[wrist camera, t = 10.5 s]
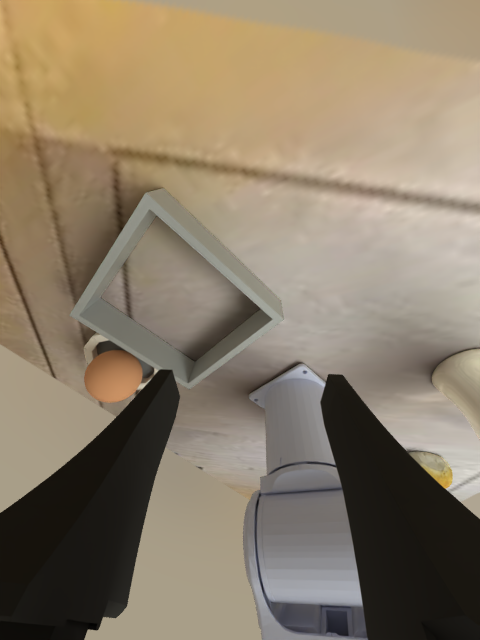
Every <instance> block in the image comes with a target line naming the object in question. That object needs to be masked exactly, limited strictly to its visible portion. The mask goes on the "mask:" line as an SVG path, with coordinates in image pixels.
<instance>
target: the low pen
mask: <svg viewBox="0 0 480 640" xmlns="http://www.w3.org/2000/svg"><path fill="white" fill-rule="evenodd" d="M156 216H158V217H159V218H160V219H161V220H162V221H164V222H165V223H166V224H167V225H168V226H169V227H170V228H171V229H173V230H174V231H175V232H176V233H177V234H178V235H179V236H180V237H181V238H183V239H184V240H185V241H186V242H187V243H188V244H189V245H190V246H192V247H193V248H194V249H195V250H196V251H197V252H198V253H199V254H200V255H202V256H203V257H204V258H205V259H206V260H207V261H208V262H209V263H210V264H212V265H213V266H214V267H215V268H216V269H217V270H218V271H219V272H221V273H222V274H223V275H224V276H225V277H226V278H227V279H228V280H229V281H231V282H232V283H233V284H234V285H235V286H236V287H237V288H238V289H240V290H241V291H242V292H243V293H244V294H245V295H246V296H247V297H248V298H250V299H251V300H252V301H253V302H254V303H255V304H256V305H257V306H258V307H260V308H261V309H260V310H258V311H257V312H256V313H255V314H253V315H252V316H251V317H250V318H249V319H247V320H246V321H245V322H244V323H242V324H241V325H240V326H239V327H237V328H236V329H235V330H234V331H232V332H231V333H230V334H229V335H228V336H226V337H225V338H224V339H223V340H221V341H220V342H219V343H218V344H216V345H215V346H214V347H213V348H212V349H210V350H209V351H208V352H207V353H205V354H204V355H203V356H202V357H200V358H199V359H198V360H197V361H195V362H194V361H193V360H191V359H190V358H188V357H187V356H185V355H184V354H183V353H181V352H180V351H178V350H177V349H175V348H174V347H172V346H171V345H169V344H168V343H166V342H165V341H163V340H162V339H160V338H159V337H157V336H156V335H155V334H153V333H152V332H150V331H149V330H147V329H146V328H144V327H143V326H141V325H140V324H138V323H137V322H135V321H134V320H132V319H131V318H129V317H128V316H127V315H125V314H124V313H122V312H121V311H119V310H118V309H116V308H115V307H113V306H112V305H110V304H109V303H107V302H106V301H104V300H103V299H102V298H100V297H101V296H102V294H103V293H104V292H105V290H106V289H107V287H108V286H109V284H110V283H111V281H112V280H113V278H114V277H115V276H116V274H117V273H118V271H119V270H120V268H121V267H122V265H123V264H124V262H125V261H126V259H127V258H128V257H129V255H130V254H131V252H132V251H133V249H134V248H135V246H136V245H137V243H138V242H139V241H140V239H141V238H142V236H143V235H144V233H145V232H146V230H147V229H148V227H149V226H150V224H151V223H152V222H153V220H154V219H155V217H156ZM70 316H71V317H73V318H74V319H76V320H78V321H79V322H81V323H83V324H84V325H86V326H87V327H89V328H91V329H92V330H94V331H95V332H97V333H99V334H100V335H102V336H104V337H105V338H107V339H108V340H110V341H112V342H113V343H115V344H116V345H118V346H120V347H121V348H123V349H125V350H126V351H128V352H129V353H131V354H133V355H134V356H136V357H137V358H139V359H141V360H142V361H144V362H145V363H147V364H149V365H150V366H152V367H154V368H155V369H157V370H160V369H168V370H173V374H174V377H175V381H176V382H178V383H179V384H181V385H183V386H184V387H186V388H187V389H191V388H192V387H193V386H195V385H196V384H197V383H199V382H200V381H201V380H203V379H204V378H206V377H207V376H208V375H210V374H211V373H212V372H214V371H215V370H216V369H218V368H219V367H220V366H222V365H223V364H225V363H226V362H227V361H229V360H230V359H231V358H233V357H234V356H235V355H237V354H238V353H240V352H241V351H242V350H244V349H245V348H246V347H248V346H249V345H250V344H252V343H253V342H254V341H256V340H257V339H259V338H260V337H261V336H263V335H264V334H265V333H267V332H268V331H269V330H271V329H272V328H273V327H275V326H276V325H278V324H279V323H280V322H282V321H283V320H284V316H283V310H282V303H281V300H280V299H279V298H278V297H277V296H276V295H275V294H274V293H273V292H272V291H271V290H270V289H269V288H268V287H267V286H266V285H264V284H263V283H262V282H261V281H260V280H259V279H258V278H257V277H256V276H255V275H254V274H253V273H252V272H251V271H250V270H249V269H248V268H247V267H246V266H245V265H244V264H243V263H241V262H240V261H239V260H238V259H237V258H236V257H235V256H234V255H233V254H232V253H231V252H230V251H229V250H228V249H227V248H226V247H225V246H224V245H223V244H222V243H221V242H220V241H218V240H217V239H216V238H215V237H214V236H213V235H212V234H211V233H210V232H209V231H208V230H207V229H206V228H205V227H204V226H203V225H202V224H201V223H200V222H199V221H198V220H197V219H195V218H194V217H193V216H192V215H191V214H190V213H189V212H188V211H187V210H186V209H185V208H184V207H183V206H182V205H181V204H180V203H179V202H178V201H177V200H176V199H175V198H174V197H172V196H171V195H170V194H169V193H168V192H167V191H166V190H165V189H164V188H161V189H158V190H154V191H150V192H146V193H145V195H144V196H143V198H142V199H141V201H140V203H139V204H138V206H137V207H136V209H135V211H134V212H133V214H132V215H131V217H130V219H129V220H128V222H127V224H126V225H125V227H124V228H123V230H122V232H121V233H120V235H119V236H118V238H117V240H116V241H115V243H114V244H113V246H112V248H111V249H110V251H109V252H108V254H107V256H106V257H105V259H104V260H103V262H102V264H101V265H100V267H99V268H98V270H97V272H96V273H95V275H94V276H93V278H92V280H91V281H90V283H89V285H88V286H87V288H86V289H85V291H84V293H83V294H82V296H81V297H80V299H79V301H78V302H77V304H76V305H75V307H74V309H73V310H72V312H71V313H70Z"/></svg>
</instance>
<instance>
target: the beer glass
mask: <svg viewBox="0 0 480 640" xmlns="http://www.w3.org/2000/svg"><path fill="white" fill-rule="evenodd" d="M432 383H433V385H434V386H435V387H436V388H437V389H438V390H439V391H440V392H441V393H442V394H443V395H445V396H446V397H447V398H448V399H449V400H450V401H451V402H452V403H453V404H454V405H455V406H456V407H457V408H458V409H459V410H460V411H461V412H462V414H463V415H464V416H465V418H466V419H467V420H468V422H469V423H470V425H471V427H472V428H473V430H474V432H475V433H476V435H477V437H478V439H479V441H480V349H471V350H467V351H463V352H460V353H457V354H455V355H453V356H451V357H449V358H447V359H445V360H444V361H443V362H441V363H440V364H439V365H438V366H437V367H436V369H435V370H434V372H433V374H432Z"/></svg>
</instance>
